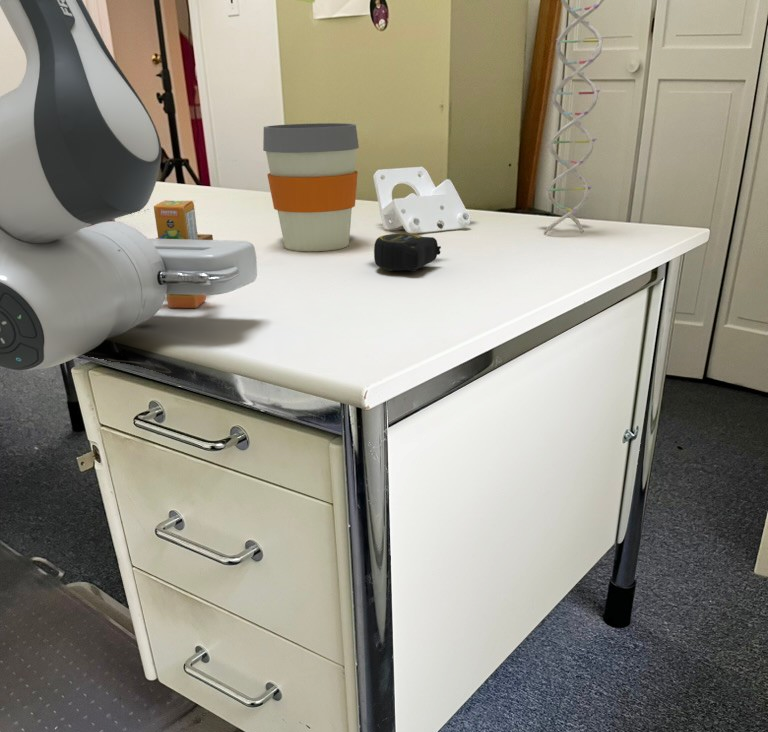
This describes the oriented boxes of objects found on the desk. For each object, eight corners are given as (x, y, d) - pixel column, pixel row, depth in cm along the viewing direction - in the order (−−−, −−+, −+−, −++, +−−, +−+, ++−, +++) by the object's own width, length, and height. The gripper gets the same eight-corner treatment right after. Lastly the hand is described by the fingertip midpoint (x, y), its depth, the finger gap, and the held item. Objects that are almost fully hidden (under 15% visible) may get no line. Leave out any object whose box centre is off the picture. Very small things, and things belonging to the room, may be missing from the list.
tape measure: (416, 278, 92) (416, 244, 90) (364, 273, 95) (363, 240, 93) (440, 266, 97) (441, 234, 96) (390, 262, 100) (389, 230, 98)
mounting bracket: (455, 237, 126) (442, 167, 125) (475, 224, 120) (461, 151, 119) (386, 244, 122) (372, 172, 120) (403, 232, 116) (388, 155, 115)
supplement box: (165, 308, 82) (149, 204, 77) (177, 300, 85) (163, 199, 80) (196, 309, 81) (183, 204, 77) (208, 300, 84) (195, 199, 80)
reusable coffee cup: (253, 246, 112) (241, 127, 105) (320, 234, 120) (314, 122, 112) (312, 257, 104) (304, 129, 97) (380, 243, 112) (378, 124, 105)
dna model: (545, 237, 113) (564, -16, 99) (536, 230, 119) (553, -11, 105) (592, 236, 113) (618, -17, 99) (581, 229, 119) (604, -12, 105)
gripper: (219, 242, 66) (277, 216, 78) (1, 237, 70) (88, 213, 82) (227, 319, 69) (282, 283, 81) (18, 309, 73) (100, 276, 85)
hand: (183, 248), depth 81 cm, fingers closed on supplement box, 3 cm apart
